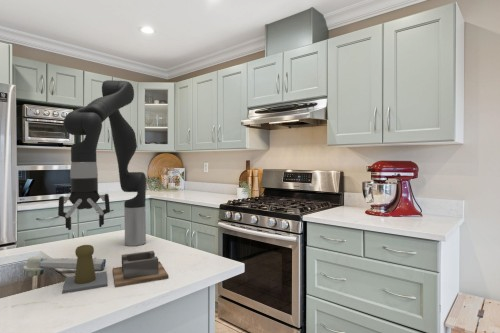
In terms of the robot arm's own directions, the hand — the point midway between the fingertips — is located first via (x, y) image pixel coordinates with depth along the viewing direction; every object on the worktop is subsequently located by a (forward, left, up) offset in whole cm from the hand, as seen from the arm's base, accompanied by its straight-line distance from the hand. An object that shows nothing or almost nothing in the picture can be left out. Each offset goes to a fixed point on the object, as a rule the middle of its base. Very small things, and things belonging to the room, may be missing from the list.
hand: (85, 228), depth 98 cm
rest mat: (0, 0, -17) cm, 17 cm away
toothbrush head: (-14, -7, -18) cm, 24 cm away
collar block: (0, +16, -17) cm, 24 cm away
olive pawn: (0, 0, -17) cm, 17 cm away
